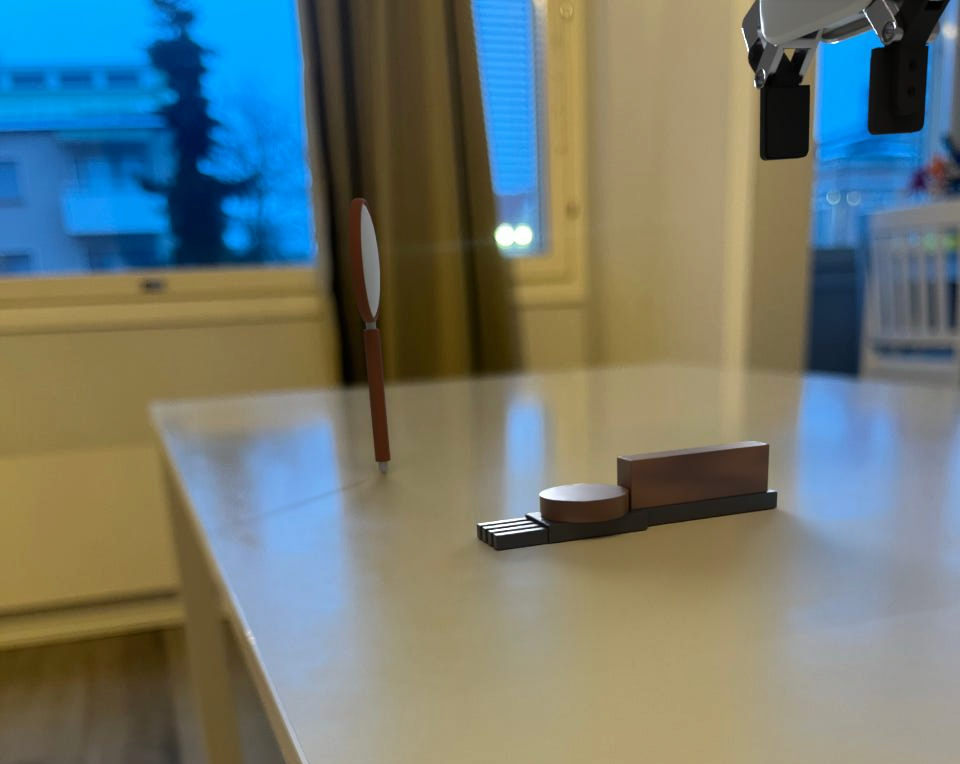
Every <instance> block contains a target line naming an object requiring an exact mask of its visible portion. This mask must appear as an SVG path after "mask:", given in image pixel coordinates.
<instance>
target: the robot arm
mask: <svg viewBox="0 0 960 764" xmlns="http://www.w3.org/2000/svg"><path fill="white" fill-rule="evenodd" d="M950 1H951V0H754V2H753V3H752V5H751V7H750V8H749V9H748V11H747V12H746V13H745V15H744V16H743V20H742V22H741V31H742V35H743V38H744V42H745V45H746V48H747V52H748V53H747V62H748V64H749V67H750V69H751V70H752V71H753V72H754V78H753V80H754V81H753V83H754V87H755V89H757V90H759V157H760V159H761V160H762V161H763V162H766V161H769V162H770V161H781V160H782V161H783V160H796V159H802V158H806V157H807V156H808V154H809V151H810V125H811V124H810V122H811V120H810V119H811V84H802V83H803V81H804V79H805V77H806V74H807V72H808V70H809V67H810V64H811V62H812V60H813V58H814V55H815V53H816V51H817V48H818V46H819V43H820V42H821V43H823V44H837V43H840V42H843V41H846V40H849V39H852V38H855V37H857V36H860V35H863V34H866V33H868V32H871V31H874V32H875V35H876V36H877V37H878V39H879V41H880V43H881V44H882V45H883V46H876V47H874V48H871V49H870V50H871V51H870V58H869V76H868V77H869V78H868V79H869V80H868V101H867V103H868V104H867V131H868V133H869V134H870V135H872V136H887V135H899V134H900V135H901V134H903V135H904V134H912V133H917V132H920V131H922V130H923V129H924V126H925V120H926V119H925V118H926V117H925V116H926V101H927V99H926V98H927V83H928V82H927V81H928V66H929V64H928V63H929V49H930V46H929V45H932V44H933V43H934V42H935V41H936V40H937V38H938V37H939V34H940V31H941V23H940V18H941V17H942V15H943V13H944V12H945V10H946V8H947V6H948V5H949V3H950ZM785 50H794V51H793V54H792V56H791V58H789V57H788V55H787V54H786V52H785Z"/></svg>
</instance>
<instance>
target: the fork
mask: <svg viewBox="0 0 960 764" xmlns="http://www.w3.org/2000/svg"><path fill="white" fill-rule="evenodd" d="M777 507H778V491H777V490H774V489H769V488H768V491H767V492H761V493H754V494H746V495H739V496H732V497H724V498H717V499H710V500H702V501H695V502H687V503H680V504H673V505H665V506H658V507H651V508H643V509H636V510H630V509H629V512H628V514H627V515H625V516H623V517H620V518H617V519H612V520H607V521H600V522H588V523H568V522H557V521H552V520H548V519H545V518H543V517H542V516H541V515H540V511H534V512H527V513H525V514H524V517H519V518H518V517H517V518H511V519H503V520H502V519H501V520H496V521H495V520H494V521H488V522H481V523H476V537H477V538H478V539H479V540H482V541H483V542H484V543H486V544H488V545H489V546H491V547H493V548H494V549H495V550H497V551H501V550H508V549H516V548H522V547H528V546H536V545H542V544H543V545H544V544H548V543H549V544H554V543H560V542H567V541H576V540H580V539H581V540H582V539H589V538H595V537H603V536H609V535H610V536H611V535H616V534H623V533H629V532H637V531H645V530H648V526H649V527H650V526H657V525H663V524H664V525H665V524H670V523H677V522H684V521H692V520H698V519H705V518H706V519H707V518H712V517H713V518H714V517H718V516H719V517H720V516H726V515H734V514H742V513H747V512H748V513H749V512H754V511H756V512H757V511H762V510H769V509H775V508H777Z"/></svg>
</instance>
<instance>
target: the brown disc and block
mask: <svg viewBox="0 0 960 764" xmlns="http://www.w3.org/2000/svg"><path fill="white" fill-rule="evenodd" d="M769 464H770V444H769V443H764V442H760V441H755V440H746V441H738V442H730V443H729V442H728V443H721V444H712V445H704V446H697V447H696V446H695V447H688V448H680V449H679V448H678V449H671V450H670V449H669V450H663V451H653V452H645V453H637V454H629V455H628V454H627V455H619V456H617V457H616V484H610V483H574V484H565V485H558V486H553V487H549V488H546V489H543V490H541V492H539V512H540V515H541V516H542V517H543V518H545V519H548V520H552V521H557V522H568V523H588V522H600V521H607V520H612V519H617V518H620V517H623V516H625V515H627V514H628V512H629V509H630V510H636V509H643V508H651V507H658V506H665V505H673V504H680V503H687V502H695V501H702V500H710V499H717V498H724V497H732V496H739V495H746V494H754V493H761V492H767V491H768V489H769Z"/></svg>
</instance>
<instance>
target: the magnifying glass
mask: <svg viewBox="0 0 960 764" xmlns="http://www.w3.org/2000/svg"><path fill="white" fill-rule="evenodd" d="M348 250H349V251H348V252H349V261H350V270H351V271H350V272H351V279H352V286H353V292H354V296H355V302H356V306H357V308H358V312H359V315H360V317H361V319H362V321H363V322H364V323H365V329H363V330H362V331H363V342H364V351H365V352H364V353H365V362H366V363H365V364H366V373H367V386H368V396H369V403H370V404H369V405H370V417H371V428H372V441H373V449H374V461H375V462H376V463H378V471H379V472H380V473H381V474H383V475H384V474H387V473H388V471H389V470H390V469H389V462H390V461H391V449H390V448H391V447H390V439H389V438H390V437H389V426H388V415H387V414H388V413H387V403H386V391H385V380H384V379H385V378H384V369H383V367H384V366H383V356H382V346H381V334H380V333H381V332H380V328H377V323H376V322H377V321H378V319H379V315H380V308H381V269H380V257H379V249H378V241H377V235H376V230H375V225H374V219H373V215H372V211H371V209H370V205H369V204H368V201H367V200H366V199H365V198H363V197H356V198H353V200H351V202H350V206H349V212H348Z"/></svg>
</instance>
